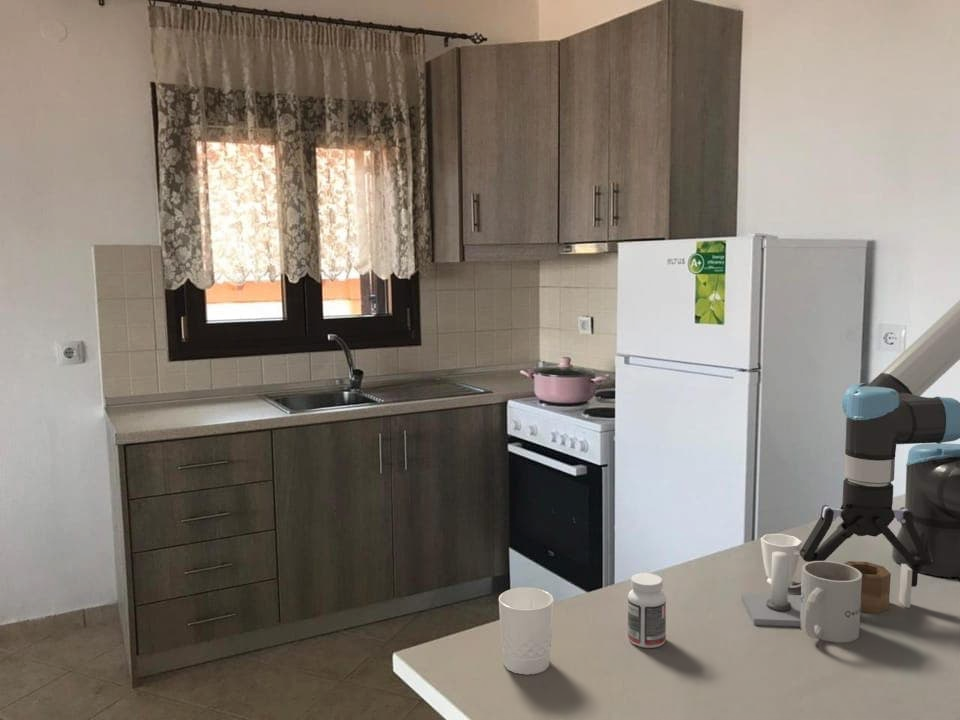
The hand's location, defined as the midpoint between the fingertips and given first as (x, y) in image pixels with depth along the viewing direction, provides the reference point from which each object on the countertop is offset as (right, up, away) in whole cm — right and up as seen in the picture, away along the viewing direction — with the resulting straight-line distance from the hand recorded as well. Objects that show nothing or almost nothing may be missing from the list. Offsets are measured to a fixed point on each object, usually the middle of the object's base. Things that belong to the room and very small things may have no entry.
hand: (861, 602), depth 136 cm
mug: (-11, -2, -10) cm, 15 cm away
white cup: (-58, -3, -19) cm, 61 cm away
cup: (-10, 0, +8) cm, 13 cm away
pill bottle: (-39, -2, -12) cm, 41 cm away
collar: (0, 0, 0) cm, 0 cm away
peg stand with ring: (-15, -1, -3) cm, 15 cm away
